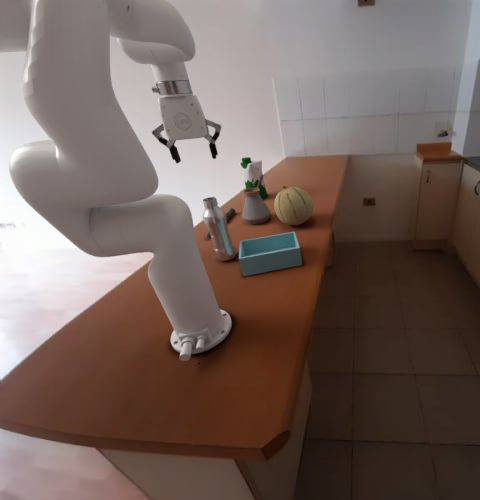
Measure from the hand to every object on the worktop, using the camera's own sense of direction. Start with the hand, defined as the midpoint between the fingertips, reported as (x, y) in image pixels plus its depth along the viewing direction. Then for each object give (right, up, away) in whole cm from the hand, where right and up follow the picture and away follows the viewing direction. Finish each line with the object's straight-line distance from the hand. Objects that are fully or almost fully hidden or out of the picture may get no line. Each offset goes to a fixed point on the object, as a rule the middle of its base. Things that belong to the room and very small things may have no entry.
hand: (196, 160), depth 78 cm
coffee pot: (+8, -11, +41) cm, 43 cm away
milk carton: (+1, 0, +61) cm, 61 cm away
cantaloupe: (+24, -15, +31) cm, 42 cm away
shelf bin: (+19, -29, +8) cm, 36 cm away
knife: (-7, -16, +35) cm, 39 cm away
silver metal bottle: (+4, -28, +12) cm, 31 cm away
